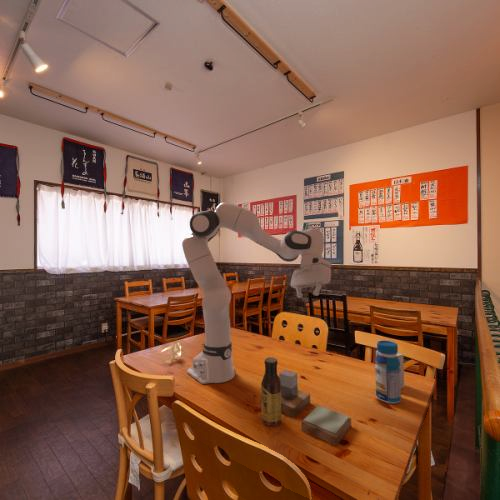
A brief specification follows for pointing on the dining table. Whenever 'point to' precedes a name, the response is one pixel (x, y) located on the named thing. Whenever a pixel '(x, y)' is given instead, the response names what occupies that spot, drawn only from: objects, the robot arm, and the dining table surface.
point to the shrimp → (175, 347)
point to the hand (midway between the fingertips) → (307, 296)
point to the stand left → (295, 404)
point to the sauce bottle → (271, 394)
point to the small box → (400, 357)
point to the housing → (288, 384)
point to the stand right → (326, 424)
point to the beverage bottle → (388, 372)
